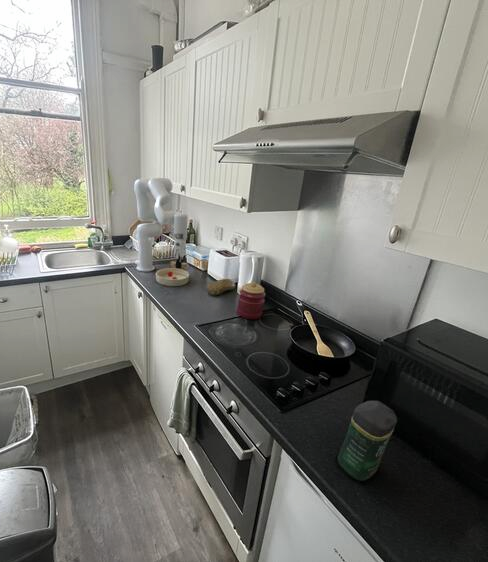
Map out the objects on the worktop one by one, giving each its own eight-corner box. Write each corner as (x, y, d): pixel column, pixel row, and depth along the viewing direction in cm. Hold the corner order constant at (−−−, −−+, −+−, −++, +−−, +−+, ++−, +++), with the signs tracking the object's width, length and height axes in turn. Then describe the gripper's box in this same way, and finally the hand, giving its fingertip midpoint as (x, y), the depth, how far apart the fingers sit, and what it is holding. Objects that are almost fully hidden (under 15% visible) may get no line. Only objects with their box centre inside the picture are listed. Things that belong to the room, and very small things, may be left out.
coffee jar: (360, 488, 71) (382, 430, 64) (331, 461, 77) (349, 405, 70) (382, 469, 76) (405, 414, 69) (353, 445, 82) (372, 392, 75)
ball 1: (168, 277, 195) (172, 275, 197) (170, 276, 192) (174, 274, 194) (165, 273, 195) (169, 271, 197) (167, 272, 192) (171, 270, 194)
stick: (187, 267, 172) (188, 263, 171) (186, 269, 169) (187, 264, 168) (171, 265, 173) (171, 261, 172) (169, 267, 170) (170, 262, 169)
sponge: (224, 287, 188) (199, 286, 176) (229, 276, 185) (203, 274, 173) (236, 298, 179) (210, 298, 167) (241, 287, 176) (215, 286, 164)
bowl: (148, 281, 186) (148, 274, 185) (168, 272, 204) (168, 266, 202) (176, 289, 177) (177, 282, 175) (195, 279, 194) (195, 272, 193)
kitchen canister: (254, 307, 161) (259, 276, 154) (266, 318, 149) (272, 286, 143) (232, 309, 157) (236, 277, 150) (243, 320, 145) (248, 287, 139)
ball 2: (176, 277, 188) (172, 275, 186) (178, 278, 185) (174, 277, 183) (174, 281, 188) (170, 280, 186) (177, 283, 185) (172, 282, 184)
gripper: (183, 239, 156) (182, 272, 163) (189, 233, 171) (188, 263, 178) (169, 238, 157) (169, 271, 164) (177, 232, 172) (176, 262, 179)
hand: (179, 267), depth 171 cm, fingers closed on stick, 2 cm apart
